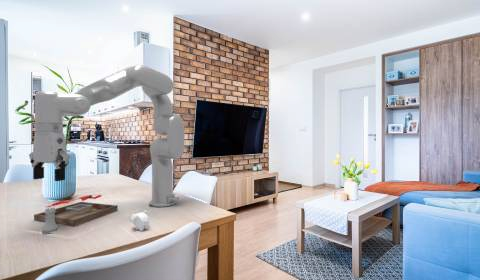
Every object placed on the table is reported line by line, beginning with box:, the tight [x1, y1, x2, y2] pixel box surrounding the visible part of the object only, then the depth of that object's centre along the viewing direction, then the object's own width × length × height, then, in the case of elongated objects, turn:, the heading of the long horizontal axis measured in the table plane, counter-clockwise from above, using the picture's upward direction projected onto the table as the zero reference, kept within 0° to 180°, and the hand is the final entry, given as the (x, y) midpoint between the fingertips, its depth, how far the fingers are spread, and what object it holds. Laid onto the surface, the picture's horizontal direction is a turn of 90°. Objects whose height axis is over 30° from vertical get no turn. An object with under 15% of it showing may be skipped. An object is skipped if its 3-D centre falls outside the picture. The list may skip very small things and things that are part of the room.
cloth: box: [46, 194, 102, 208], centre depth 127 cm, size 26×14×2 cm, turn 136°
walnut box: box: [33, 201, 119, 227], centre depth 103 cm, size 20×20×3 cm
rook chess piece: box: [41, 207, 58, 235], centre depth 87 cm, size 4×4×8 cm
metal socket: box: [65, 204, 93, 216], centre depth 107 cm, size 7×7×2 cm
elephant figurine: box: [130, 210, 150, 232], centre depth 91 cm, size 7×8×6 cm
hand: (49, 179), depth 87 cm, fingers open, 9 cm apart
